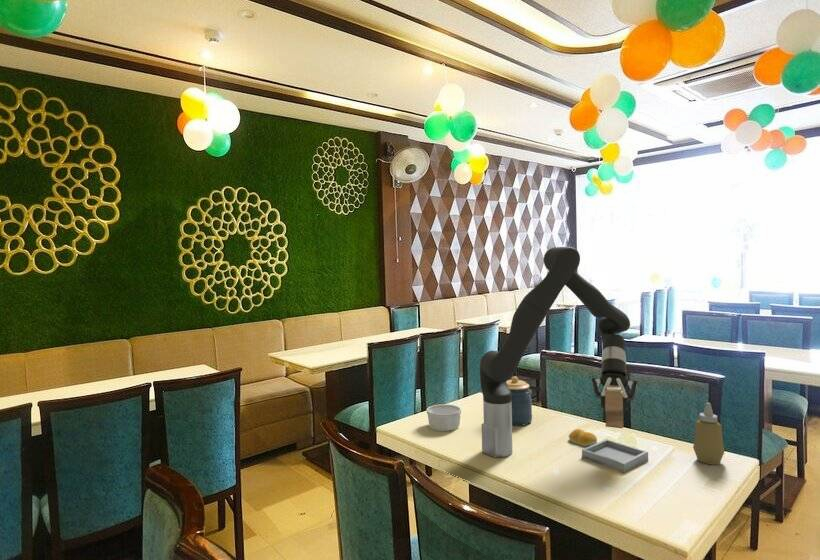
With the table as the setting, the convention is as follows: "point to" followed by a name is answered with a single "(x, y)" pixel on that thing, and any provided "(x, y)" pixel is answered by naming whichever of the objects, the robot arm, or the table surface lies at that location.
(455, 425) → the ramekin
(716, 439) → the squeeze bottle
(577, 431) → the bread roll
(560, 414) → the table surface
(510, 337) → the robot arm
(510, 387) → the canister
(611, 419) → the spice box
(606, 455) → the tray
